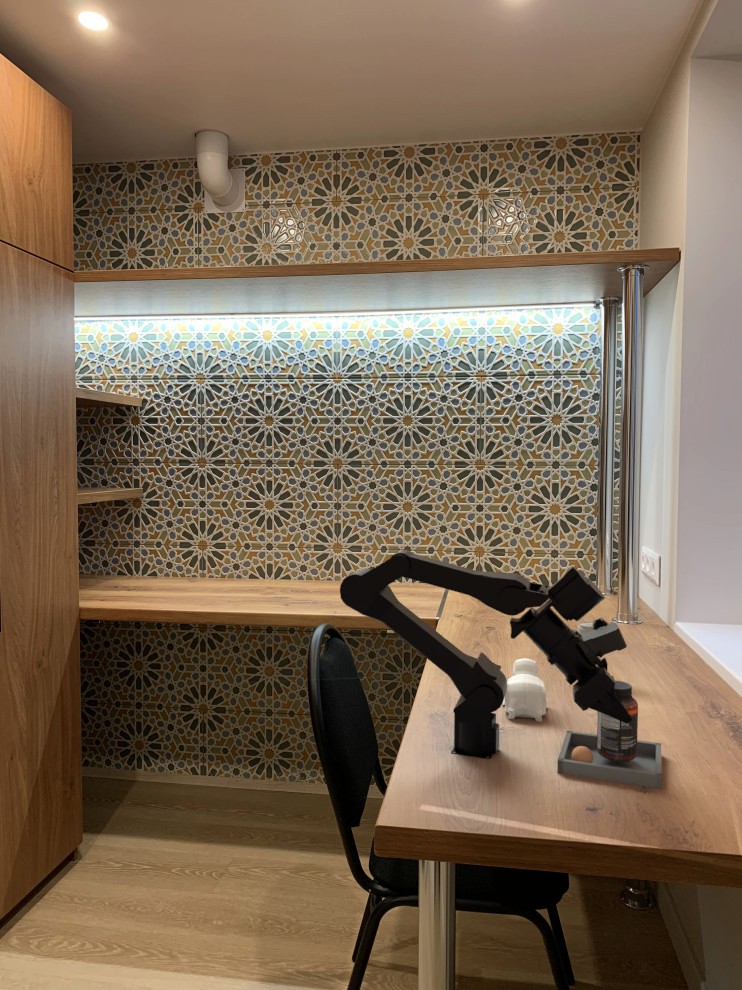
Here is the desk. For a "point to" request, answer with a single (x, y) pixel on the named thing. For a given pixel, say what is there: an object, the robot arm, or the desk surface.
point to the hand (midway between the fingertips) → (627, 714)
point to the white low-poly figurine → (525, 691)
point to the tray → (612, 762)
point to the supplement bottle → (619, 729)
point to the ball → (582, 754)
